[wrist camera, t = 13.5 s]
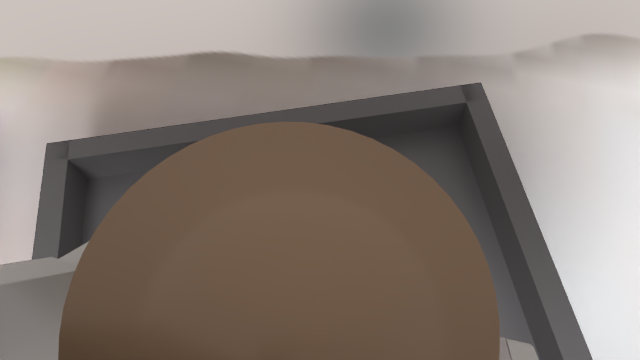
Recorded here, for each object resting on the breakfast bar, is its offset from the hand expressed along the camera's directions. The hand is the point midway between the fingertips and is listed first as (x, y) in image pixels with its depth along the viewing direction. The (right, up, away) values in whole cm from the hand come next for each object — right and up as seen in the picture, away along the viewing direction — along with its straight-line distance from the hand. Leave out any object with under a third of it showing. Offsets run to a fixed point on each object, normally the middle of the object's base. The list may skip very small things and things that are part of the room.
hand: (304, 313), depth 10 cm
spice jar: (0, -3, +4) cm, 5 cm away
